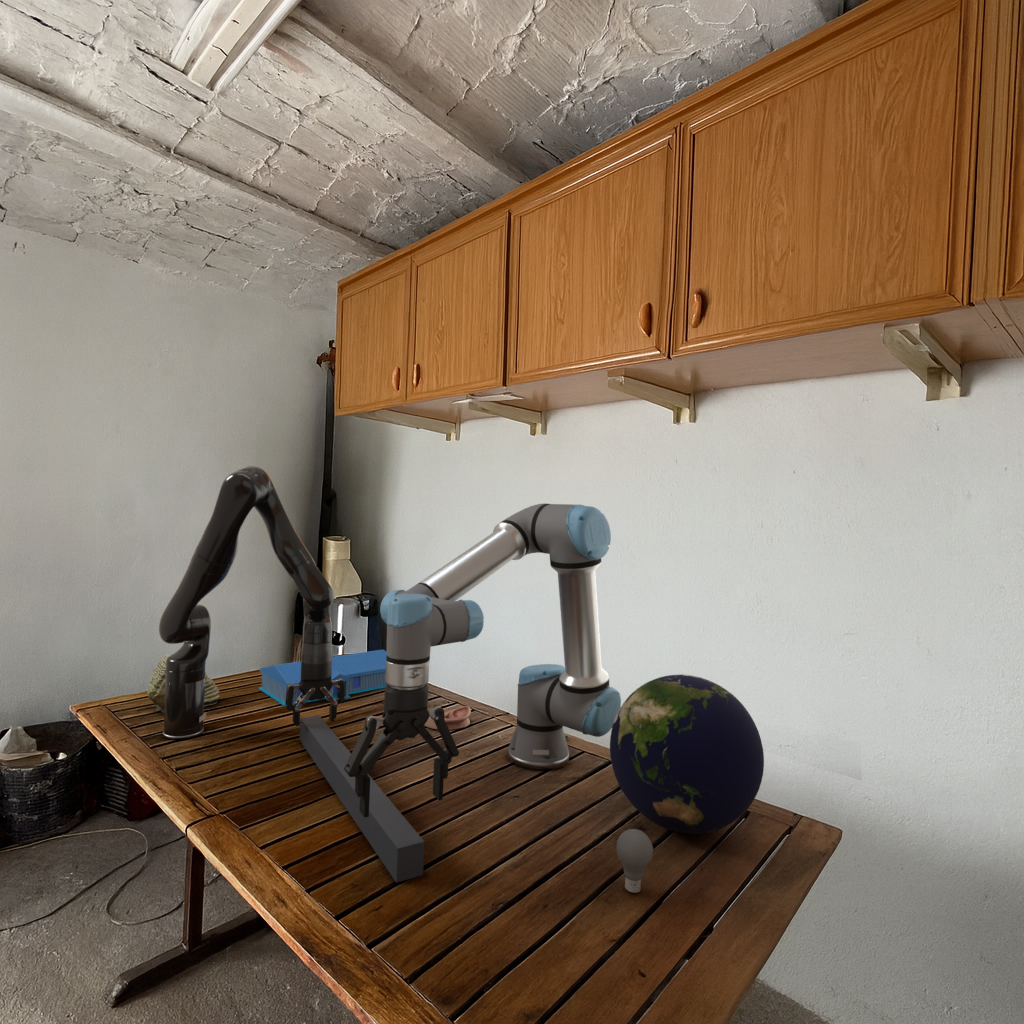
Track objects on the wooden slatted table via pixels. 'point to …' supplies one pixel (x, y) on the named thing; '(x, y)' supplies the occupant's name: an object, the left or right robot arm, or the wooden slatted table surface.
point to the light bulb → (634, 857)
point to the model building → (352, 669)
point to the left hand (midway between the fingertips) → (314, 722)
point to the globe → (686, 754)
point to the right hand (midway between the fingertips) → (402, 805)
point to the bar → (385, 821)
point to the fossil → (158, 687)
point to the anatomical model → (453, 718)
